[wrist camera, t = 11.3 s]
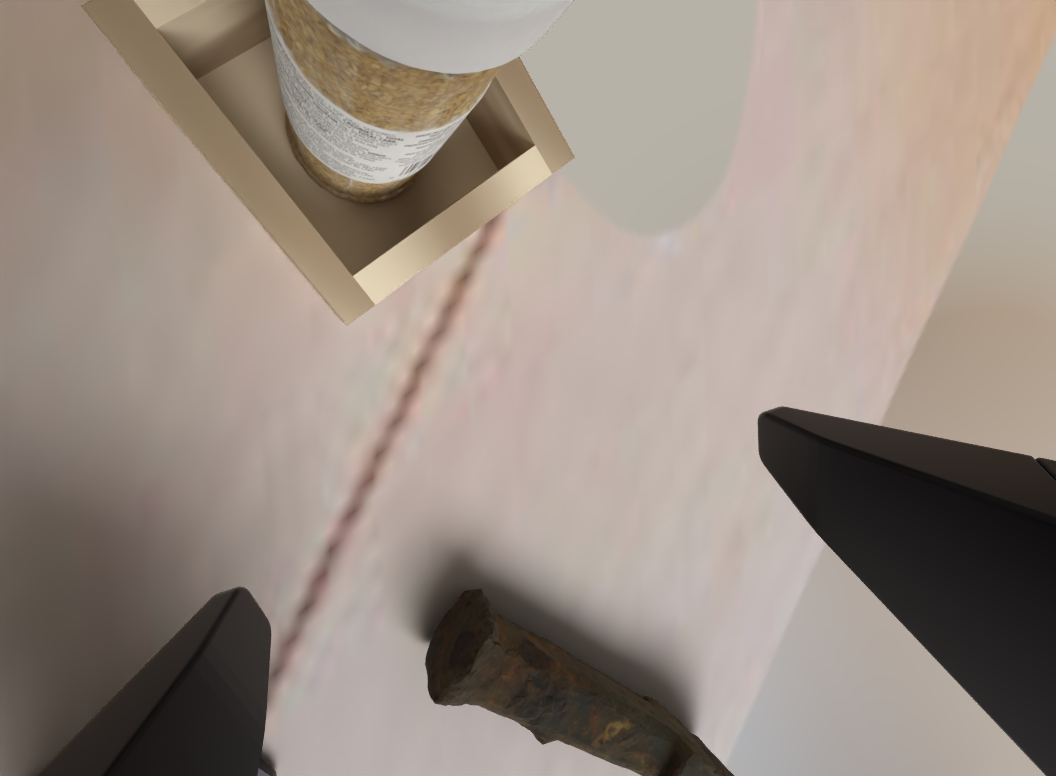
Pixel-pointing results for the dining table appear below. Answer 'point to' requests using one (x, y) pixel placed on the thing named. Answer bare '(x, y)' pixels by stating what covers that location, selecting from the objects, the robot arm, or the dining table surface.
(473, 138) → the beech holder
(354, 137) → the sprinkles bottle
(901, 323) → the dining table surface
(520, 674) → the hand tool
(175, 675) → the robot arm
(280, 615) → the dining table surface
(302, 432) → the dining table surface
